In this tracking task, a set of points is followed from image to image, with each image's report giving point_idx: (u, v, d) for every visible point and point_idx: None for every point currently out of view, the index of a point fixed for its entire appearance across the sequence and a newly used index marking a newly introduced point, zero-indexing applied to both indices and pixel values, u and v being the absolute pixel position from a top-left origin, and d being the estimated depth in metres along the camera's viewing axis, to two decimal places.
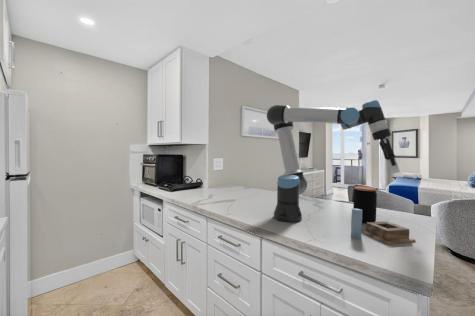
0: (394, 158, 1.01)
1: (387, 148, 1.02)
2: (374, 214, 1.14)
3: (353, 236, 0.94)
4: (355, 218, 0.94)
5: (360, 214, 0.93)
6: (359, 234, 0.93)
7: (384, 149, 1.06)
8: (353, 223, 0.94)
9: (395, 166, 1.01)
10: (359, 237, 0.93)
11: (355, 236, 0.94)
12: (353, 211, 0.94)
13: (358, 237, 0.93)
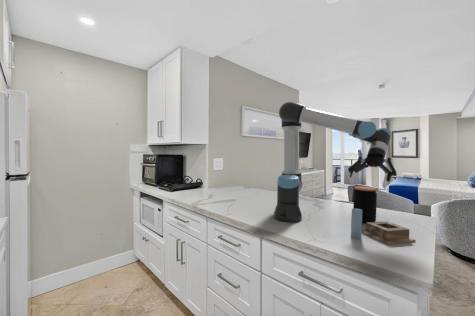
0: None
1: None
2: (374, 214, 1.14)
3: (353, 236, 0.94)
4: (355, 218, 0.94)
5: (360, 214, 0.93)
6: (359, 234, 0.93)
7: (382, 164, 1.04)
8: (353, 223, 0.94)
9: (386, 181, 0.98)
10: (359, 237, 0.93)
11: (355, 236, 0.94)
12: (353, 211, 0.94)
13: (358, 237, 0.93)
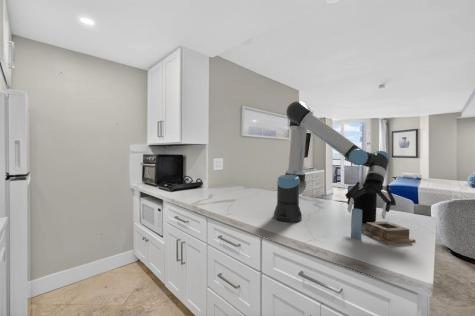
0: None
1: (392, 195, 0.97)
2: (374, 214, 1.14)
3: (353, 236, 0.94)
4: (355, 218, 0.94)
5: (360, 214, 0.93)
6: (359, 234, 0.93)
7: (381, 192, 0.99)
8: (353, 223, 0.94)
9: (385, 212, 0.94)
10: (359, 237, 0.93)
11: (355, 236, 0.94)
12: (353, 211, 0.94)
13: (358, 237, 0.93)
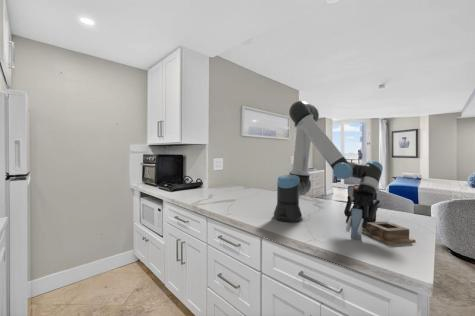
0: None
1: (375, 211, 0.94)
2: None
3: (353, 236, 0.94)
4: (355, 218, 0.94)
5: (360, 214, 0.93)
6: None
7: (366, 207, 0.96)
8: (353, 223, 0.94)
9: (362, 228, 0.92)
10: (359, 237, 0.93)
11: (355, 236, 0.94)
12: (353, 211, 0.94)
13: (358, 237, 0.93)
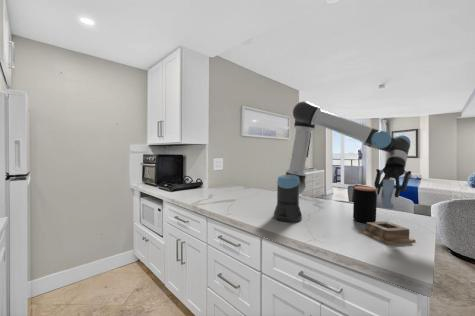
0: None
1: (407, 181, 0.95)
2: (374, 214, 1.14)
3: (385, 206, 0.95)
4: (387, 188, 0.95)
5: (392, 184, 0.94)
6: None
7: (397, 177, 0.97)
8: (385, 193, 0.95)
9: (394, 197, 0.93)
10: (391, 207, 0.94)
11: (387, 206, 0.95)
12: (385, 181, 0.95)
13: (390, 207, 0.94)
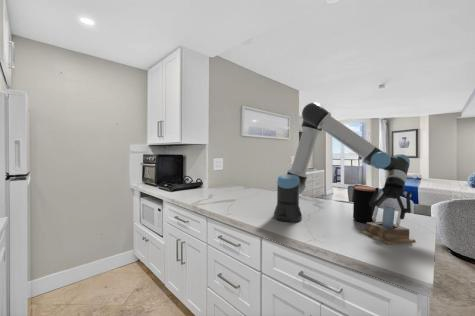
0: None
1: None
2: None
3: None
4: (387, 216, 0.95)
5: (393, 212, 0.94)
6: None
7: (399, 198, 0.97)
8: (385, 221, 0.95)
9: (400, 219, 0.92)
10: None
11: None
12: (385, 209, 0.95)
13: None
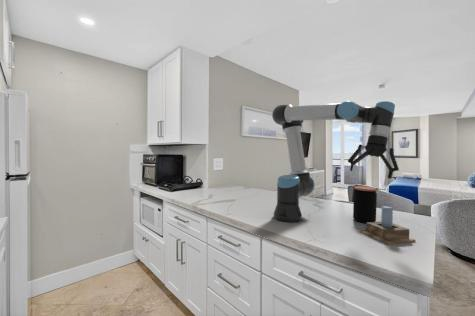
0: None
1: (395, 160, 0.95)
2: (374, 214, 1.14)
3: None
4: (385, 216, 0.95)
5: (391, 212, 0.94)
6: None
7: (384, 158, 0.97)
8: (384, 221, 0.96)
9: (387, 179, 0.96)
10: None
11: None
12: (384, 209, 0.96)
13: None
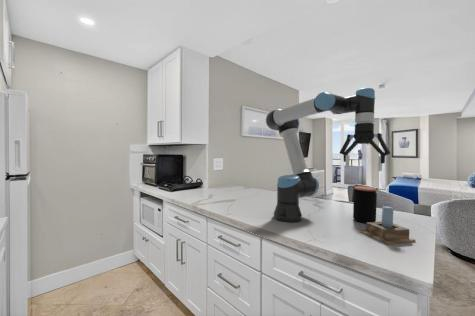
0: None
1: (384, 144, 0.95)
2: (374, 214, 1.14)
3: None
4: (386, 215, 0.95)
5: (392, 212, 0.94)
6: None
7: (373, 144, 0.97)
8: (384, 221, 0.96)
9: (381, 164, 0.96)
10: None
11: None
12: (384, 209, 0.96)
13: None
